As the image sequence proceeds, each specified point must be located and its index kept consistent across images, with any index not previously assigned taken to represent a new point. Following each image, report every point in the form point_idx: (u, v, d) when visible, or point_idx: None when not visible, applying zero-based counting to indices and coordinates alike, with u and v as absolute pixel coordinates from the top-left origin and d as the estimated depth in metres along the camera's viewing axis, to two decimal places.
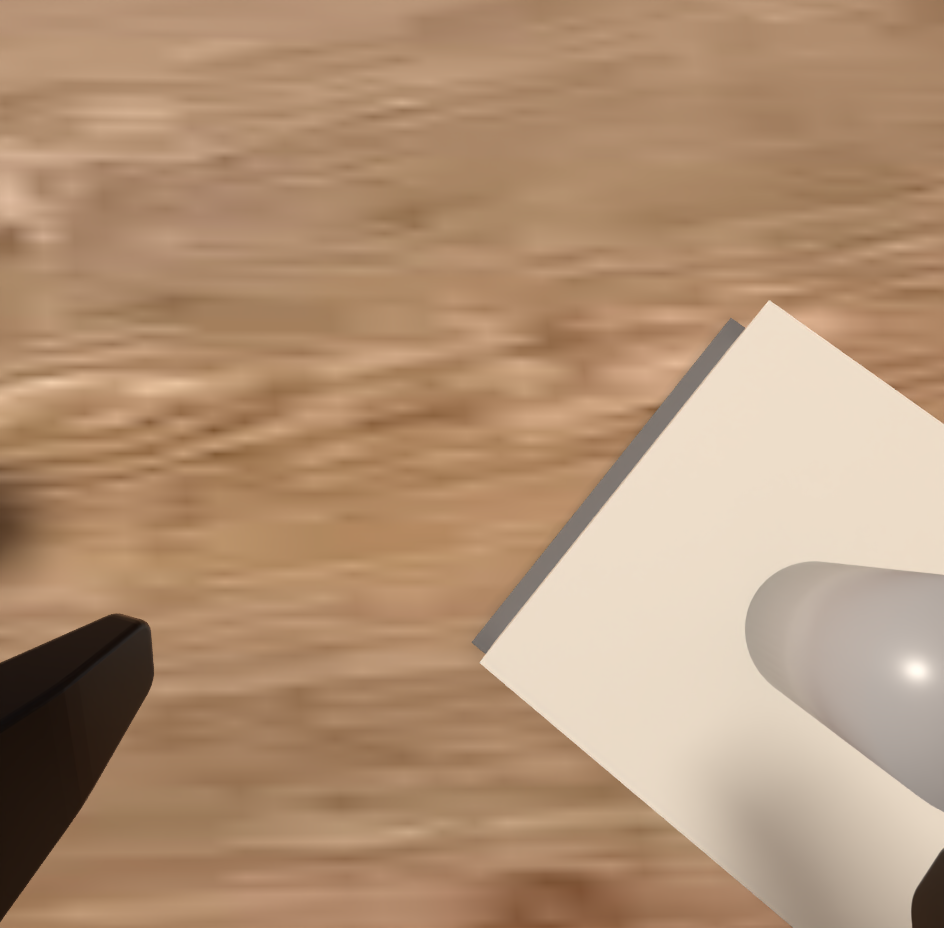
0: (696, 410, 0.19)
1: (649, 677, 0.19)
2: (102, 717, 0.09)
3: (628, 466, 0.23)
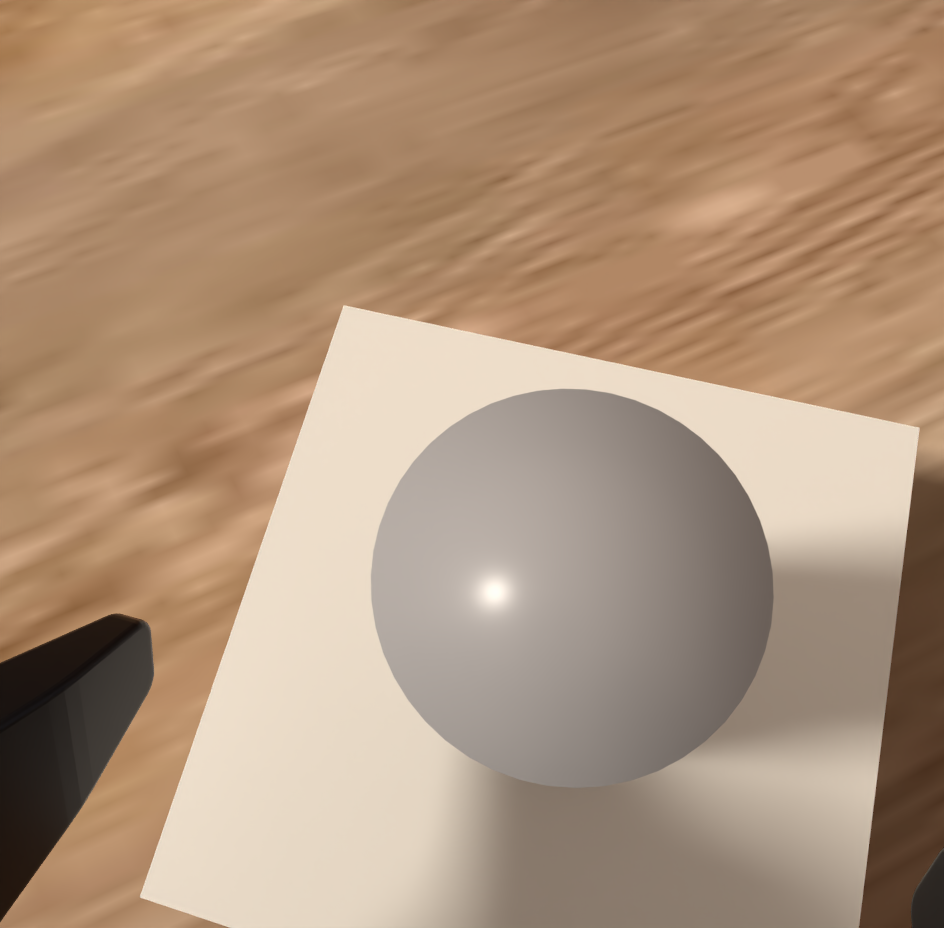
0: (308, 453, 0.15)
1: (370, 808, 0.13)
2: (102, 717, 0.09)
3: None
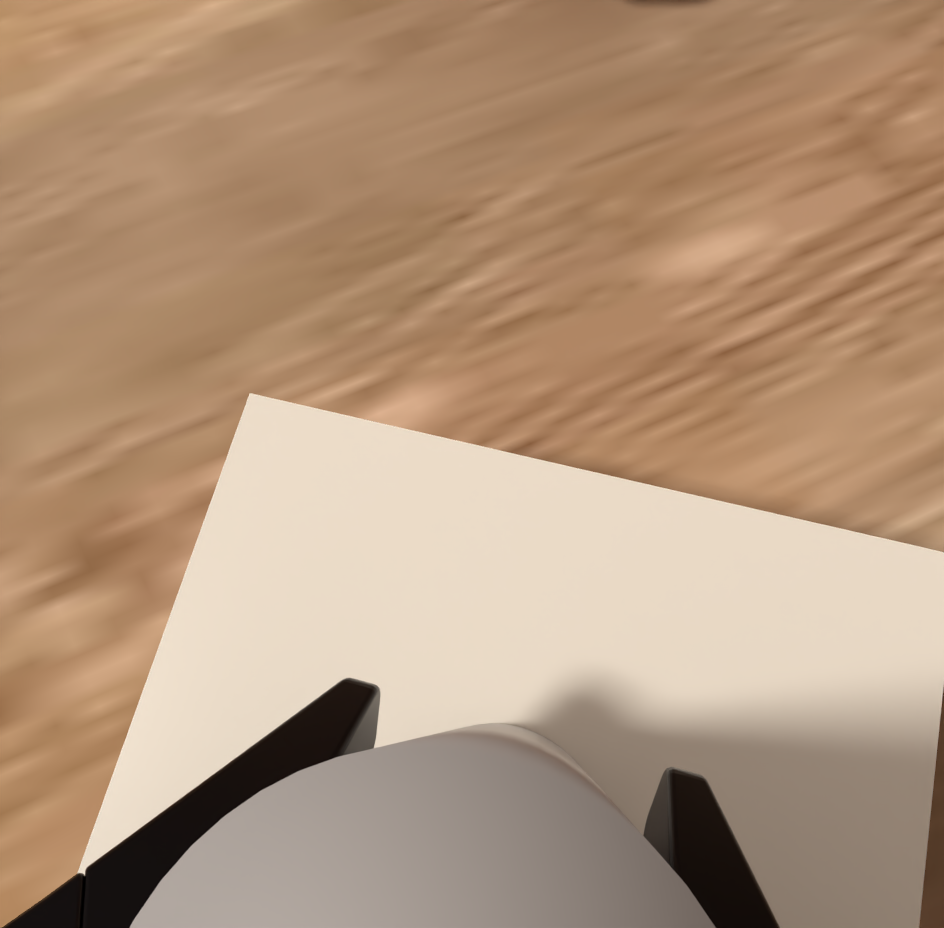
0: (200, 582, 0.12)
1: None
2: None
3: None
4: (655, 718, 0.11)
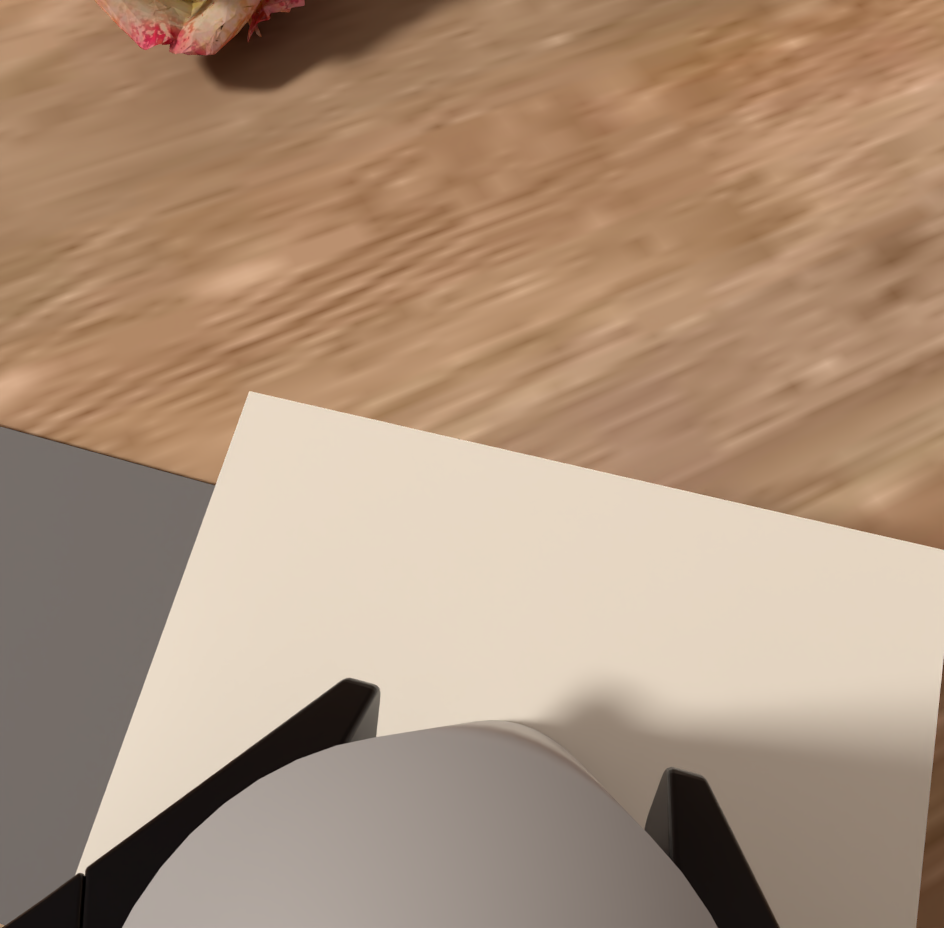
0: (200, 580, 0.12)
1: None
2: None
3: None
4: (653, 715, 0.11)
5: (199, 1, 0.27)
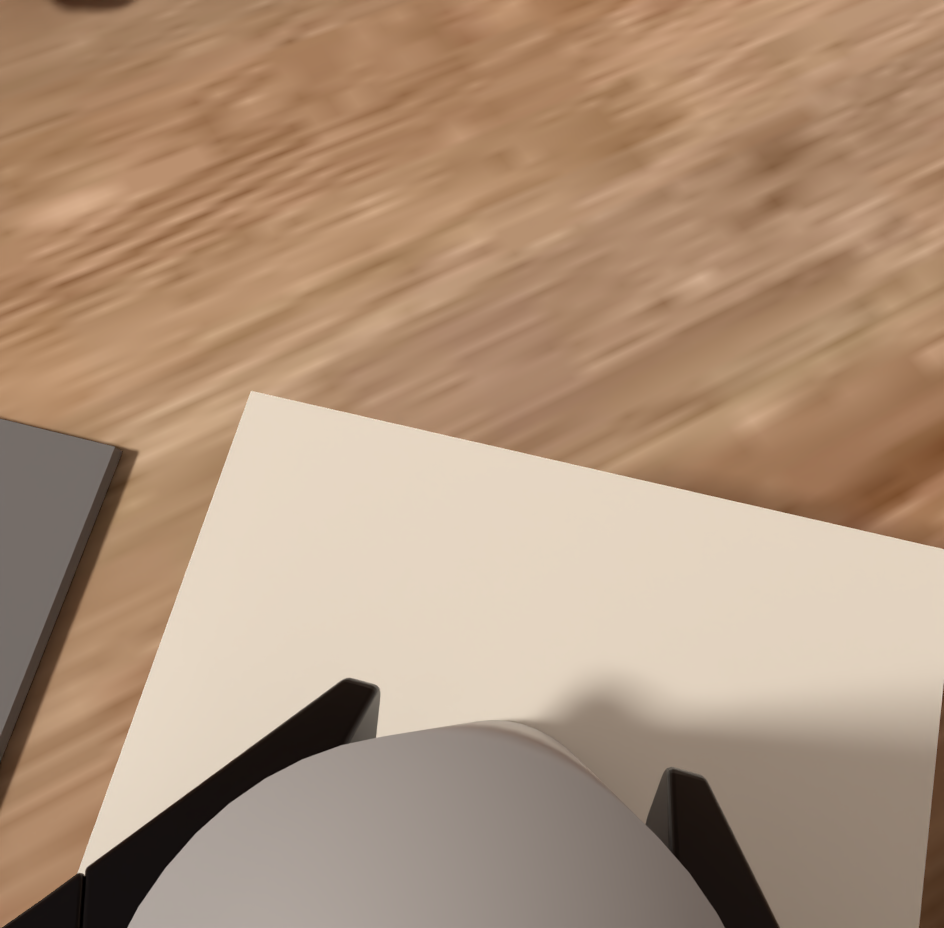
0: (202, 580, 0.12)
1: None
2: None
3: None
4: (656, 715, 0.11)
5: None
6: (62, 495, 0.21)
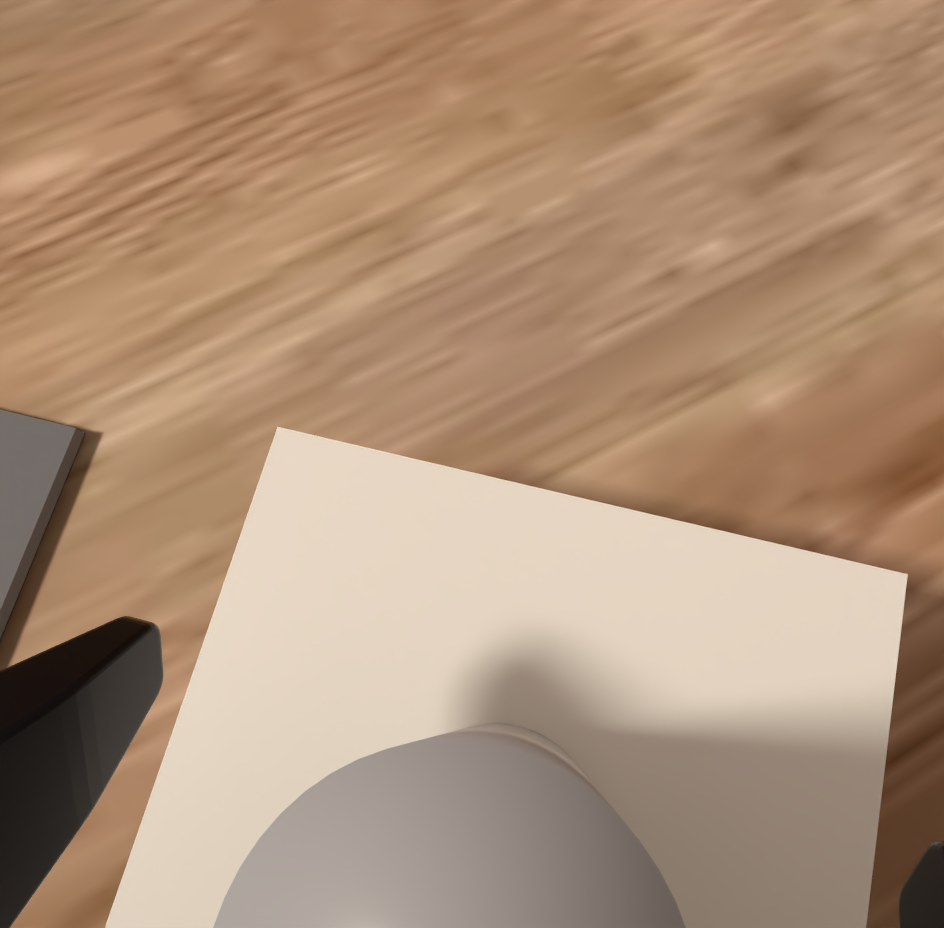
0: (236, 597, 0.14)
1: None
2: (112, 720, 0.09)
3: None
4: (640, 719, 0.13)
5: None
6: (17, 481, 0.19)
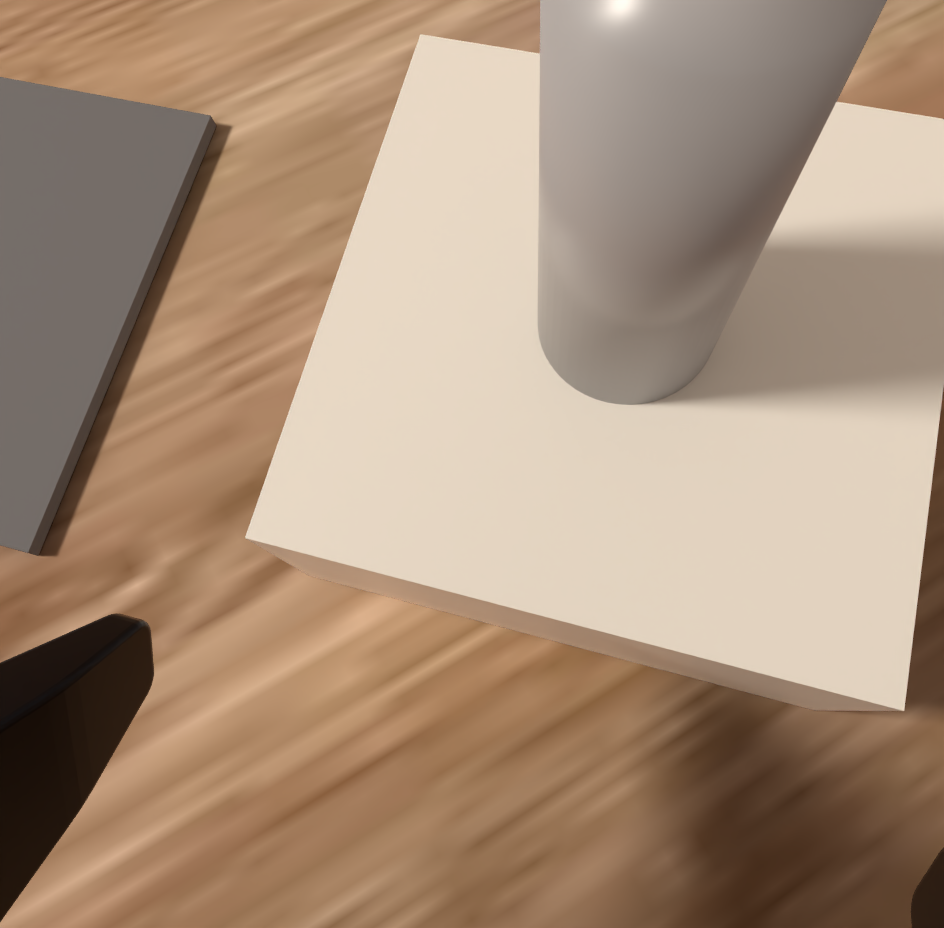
0: (391, 161, 0.16)
1: (460, 458, 0.14)
2: (102, 717, 0.09)
3: None
4: None
5: None
6: (160, 159, 0.21)
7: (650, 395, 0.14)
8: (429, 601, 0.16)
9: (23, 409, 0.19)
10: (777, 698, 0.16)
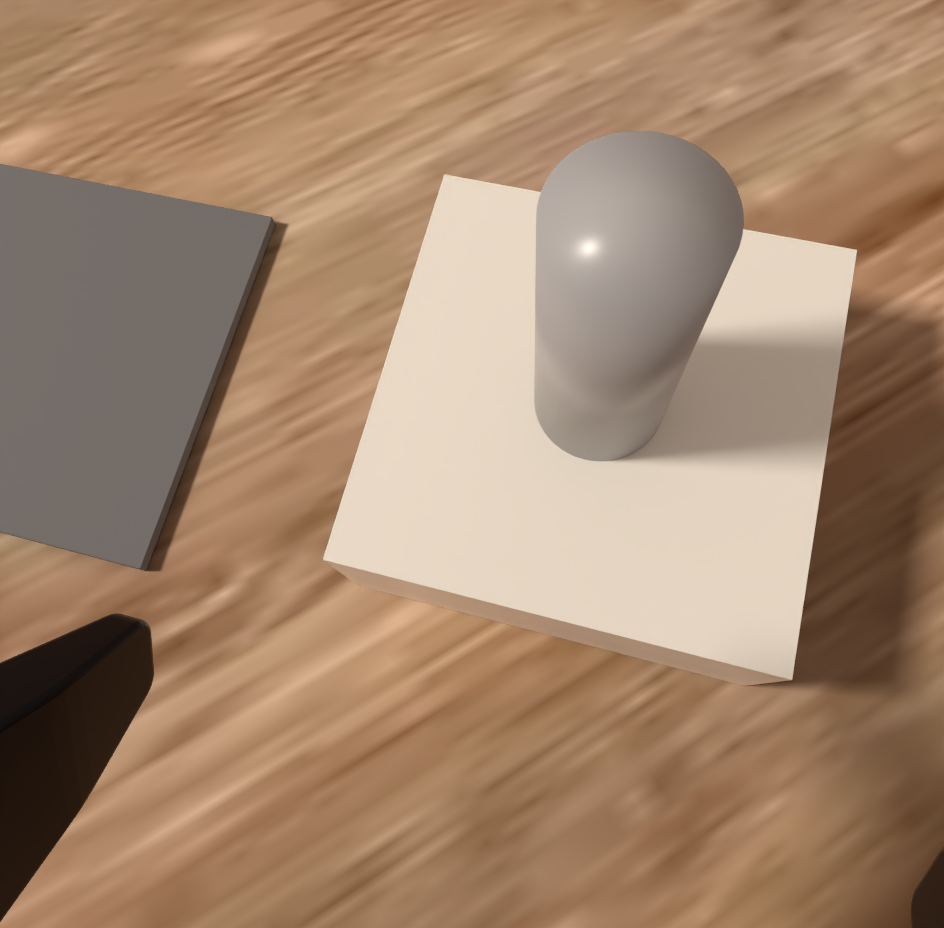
0: (423, 275, 0.22)
1: (478, 500, 0.20)
2: (102, 717, 0.09)
3: None
4: None
5: None
6: (232, 252, 0.27)
7: (615, 455, 0.19)
8: (453, 605, 0.22)
9: (131, 455, 0.25)
10: (715, 676, 0.22)
